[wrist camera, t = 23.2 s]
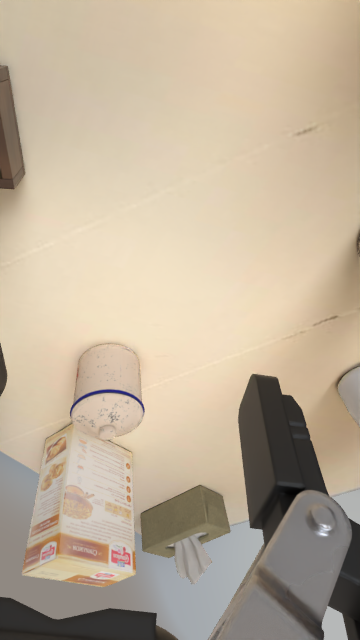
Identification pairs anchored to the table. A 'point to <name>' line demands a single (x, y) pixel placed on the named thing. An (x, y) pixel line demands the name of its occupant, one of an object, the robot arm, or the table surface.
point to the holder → (9, 136)
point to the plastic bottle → (351, 393)
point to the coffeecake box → (82, 512)
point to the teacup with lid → (107, 392)
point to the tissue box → (185, 529)
